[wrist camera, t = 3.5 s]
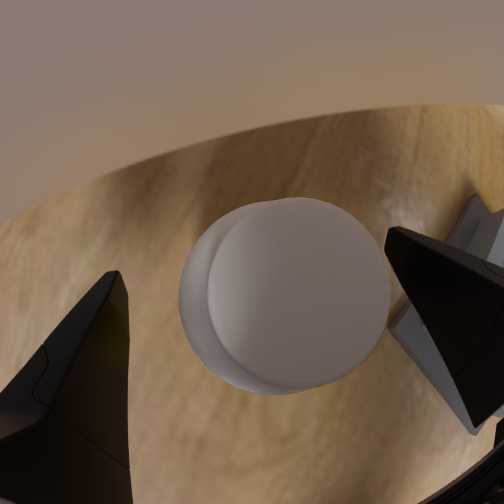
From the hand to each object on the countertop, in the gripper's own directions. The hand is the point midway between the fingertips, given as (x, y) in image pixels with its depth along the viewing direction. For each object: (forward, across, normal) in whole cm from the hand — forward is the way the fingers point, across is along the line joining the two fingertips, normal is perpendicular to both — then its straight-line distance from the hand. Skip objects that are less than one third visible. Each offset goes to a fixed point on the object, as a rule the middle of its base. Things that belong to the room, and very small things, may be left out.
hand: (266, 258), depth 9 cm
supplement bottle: (+4, 0, +6) cm, 7 cm away
